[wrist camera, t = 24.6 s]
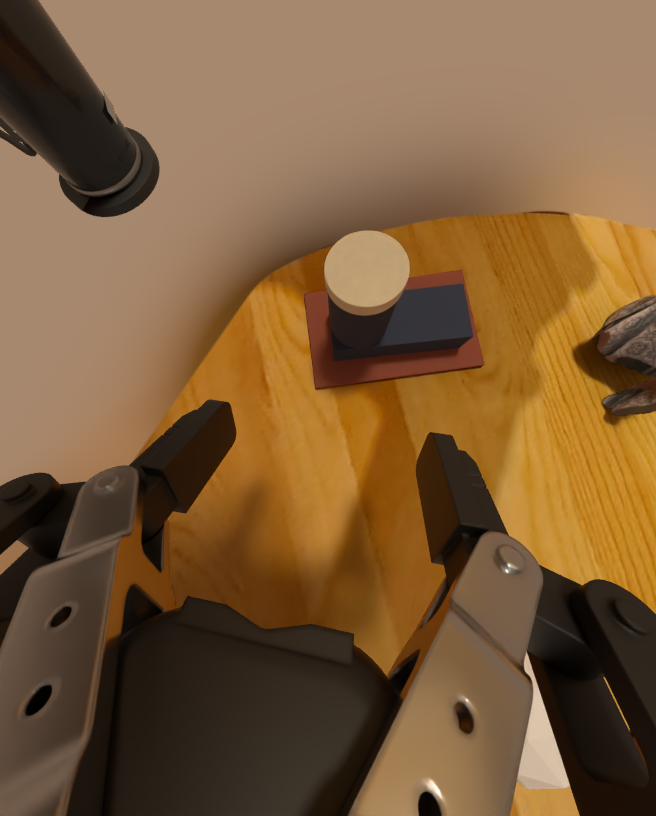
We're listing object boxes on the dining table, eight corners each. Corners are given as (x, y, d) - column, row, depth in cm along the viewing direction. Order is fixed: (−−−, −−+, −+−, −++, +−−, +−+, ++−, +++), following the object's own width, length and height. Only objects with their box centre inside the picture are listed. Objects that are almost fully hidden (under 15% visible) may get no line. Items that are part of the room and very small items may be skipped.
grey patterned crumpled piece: (580, 380, 19) (736, 228, 16) (527, 374, 25) (629, 268, 22) (672, 442, 18) (853, 300, 15) (594, 420, 25) (708, 318, 22)
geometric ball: (443, 592, 23) (465, 572, 17) (550, 654, 19) (623, 655, 13) (420, 700, 18) (439, 722, 13) (553, 807, 15) (662, 902, 9)
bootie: (332, 362, 23) (328, 311, 14) (328, 312, 24) (320, 235, 15) (459, 349, 23) (536, 288, 14) (450, 299, 23) (517, 210, 15)
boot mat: (315, 388, 23) (315, 388, 23) (304, 295, 25) (303, 293, 24) (482, 366, 23) (484, 364, 22) (460, 272, 24) (462, 269, 24)
